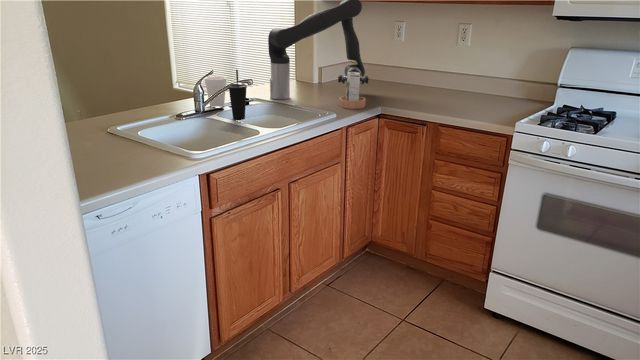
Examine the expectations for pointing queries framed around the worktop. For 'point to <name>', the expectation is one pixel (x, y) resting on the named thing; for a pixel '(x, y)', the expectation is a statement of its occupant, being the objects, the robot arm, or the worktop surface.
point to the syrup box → (353, 86)
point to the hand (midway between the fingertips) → (353, 81)
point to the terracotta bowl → (351, 103)
